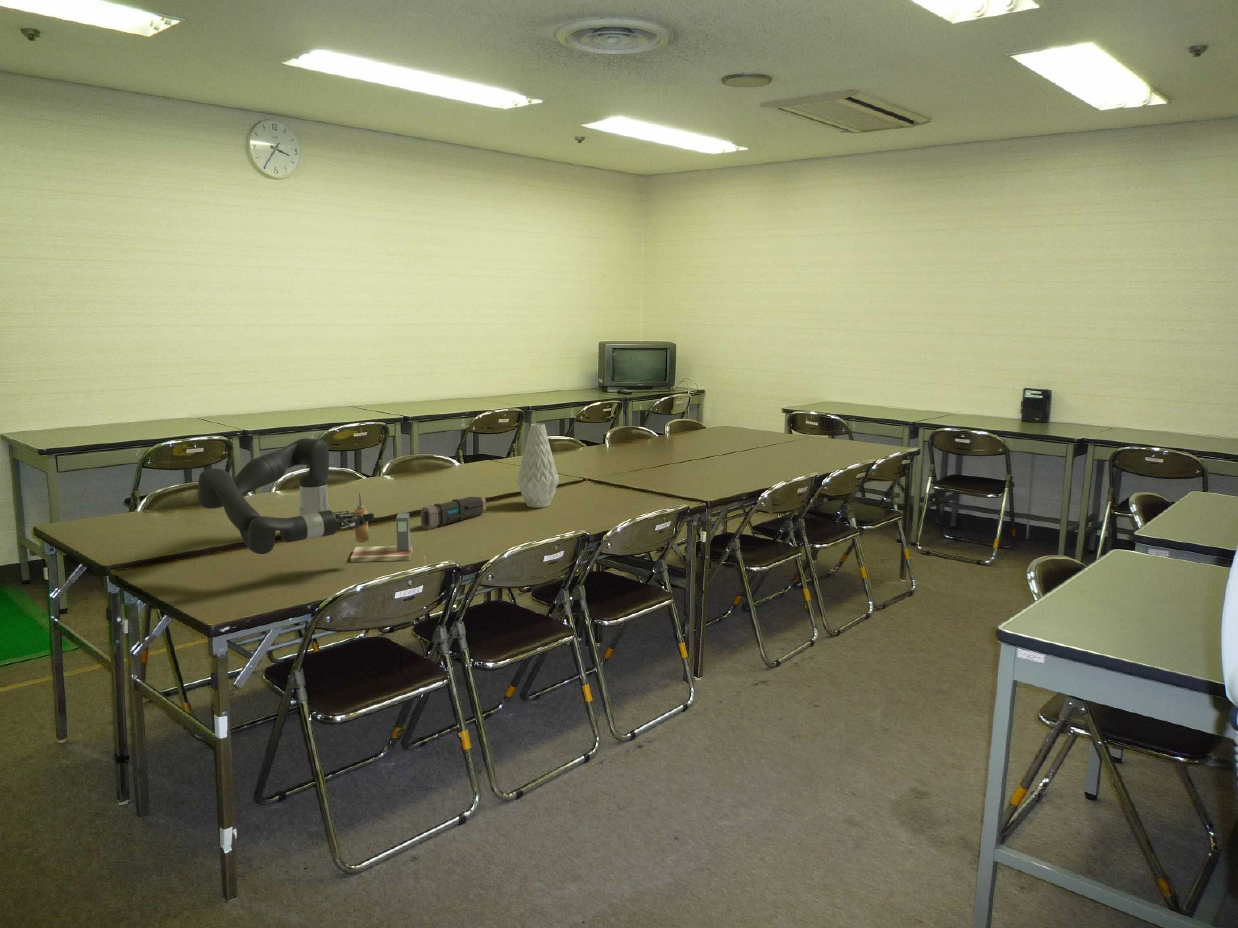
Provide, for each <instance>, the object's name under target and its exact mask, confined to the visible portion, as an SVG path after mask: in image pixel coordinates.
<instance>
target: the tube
mask: <svg viewBox="0 0 1238 928" xmlns="http://www.w3.org/2000/svg"><path fill="white" fill-rule="evenodd" d="M486 509H487V500H486V498H485V497H484V496H481V497H480V496H467V497H463V498H454V499H452V500H450V501H448V502H442V503H434V504H433V505H427V506H423V507H422V508H421V510H420V525H421V526H422V529H424V530H427V531H428V530H434V529H436V528H438V527H440V528H441V527H444V526H445V525H449V524H452V523H453V524H454V523H457V522H458V523H461V522H463V521H464V520H468V519H473V518H475V517H478V516H479V515H481V514H483V513H484V512H485V511H486Z"/></svg>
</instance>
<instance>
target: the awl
mask: <svg viewBox="0 0 1238 928" xmlns="http://www.w3.org/2000/svg"><path fill="white" fill-rule="evenodd" d="M358 500H359V504H358V505H357V507H356V508H354V511H353V512H354V514H355V516H356V515H364V514H368V507H365V505H364V504H363V501H362V500H363V499H362V492H358ZM354 530H355V531H354V532H355V542H356V543H366V542H369V539H370V538H369V521H367V522H364V525H362V526H359V527H356V528H354Z"/></svg>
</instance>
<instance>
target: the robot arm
mask: <svg viewBox="0 0 1238 928" xmlns="http://www.w3.org/2000/svg"><path fill="white" fill-rule="evenodd" d="M296 466H309V467H308V469H309V470H308V473H306V474H303V475H301V476H300V477H299V479H298V485H299V505H300V507H299V508H298V510H299V511H298V512H299V513H298V515H299V516H298V515H297V516H292V517H291V516H290V517H273V516H266V515H264V516H261V515H260V513H259V512H258V511H256V510H255V508H254V507H253V506H252V505H251V504H250V503H249V502H248V501H247V499H246V498H245V495H247V494H250V493H251V492H254V491H255V490H257V489H260V488H262V487H265V486H267V485H270V484H272V483H274V482H277V481H278V480H280V479H281V478H283V476H284V475H285V474H286V471H287V470H289V469H290V468H293V467H296ZM329 475H330V451H329V446H328V443H327V442H325V440H323V439H319V438H318V439H317V438H316V439H315V438H305V437H304V438H300V439H297V440H295V441H293V442H292V443H290V444H288V445H287V446H285V447H283V448H281V449H277V450H273V451H272V452H269V453H267V454H263V455H261V456H258V457H255V458H253V459H251V460H250V461H249V462H247V463H245V465H244V466H243V467H242V468H241V470H240V471H239V472H238V473H237V474H236V475H235V477H234V478H233V477H232V476H231V474H230V473H229V472H228V471H226V470H224V469H221V468H207V469H204V470H203V471H201V472H200V474H199V476H198V477H199V478H198V481H197V483H198V485H197V486H198V487H197V501H198V503H199V505H200V506H201V507H203V508H205V509H207V510H208V509H210V510H211V509H215V510H216V509H220V508H223V509H224V512H225V514H226V516H227V518H228V520H229V521H230V522H231V524H232V525H234V527H235V528H236V529H237V530H238V531H239V533H240V535H241V538H242V540H243V543H244V544H245V546H246V548H247V549H248V550H250V551H251V552H252V553H254V554H257V555H265V554H268V553H270V552H272V550H273V549H274V547H275V541H276V532H279V534H280V537H281V539H282V541H283V542H285V543H292V542H298V541H299V542H300V541H303V540H313V539H319V538H323V537H329V536H333V535H335V534H336V533H337V530H338V529H346V528H348V529H349V530H352V529H355V528H356V527H359V526H362V525H364V522H367V521H368V522H371V521H374V519H375V516H374V515H375V514H374V513H373V512H370V513H369V512H368V513H367V514H364V515H356V516H355V514H354V511H349V510H345V511H335V512H333V510H330V509H329V493H328V489H329V488H328V478H329Z"/></svg>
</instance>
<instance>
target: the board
mask: <svg viewBox="0 0 1238 928" xmlns="http://www.w3.org/2000/svg"><path fill="white" fill-rule="evenodd" d="M413 546H414V545H411V544H410V549H409V551H397V545H381V546H355V548H354V550H353V553H352V554H351V555H350V556H351V557H350V562H351V563H356V562H357V563H363V562H364V563H367V562H394V561H395V562H402V561H411V558H412V554H413V549H414V547H413Z"/></svg>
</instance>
